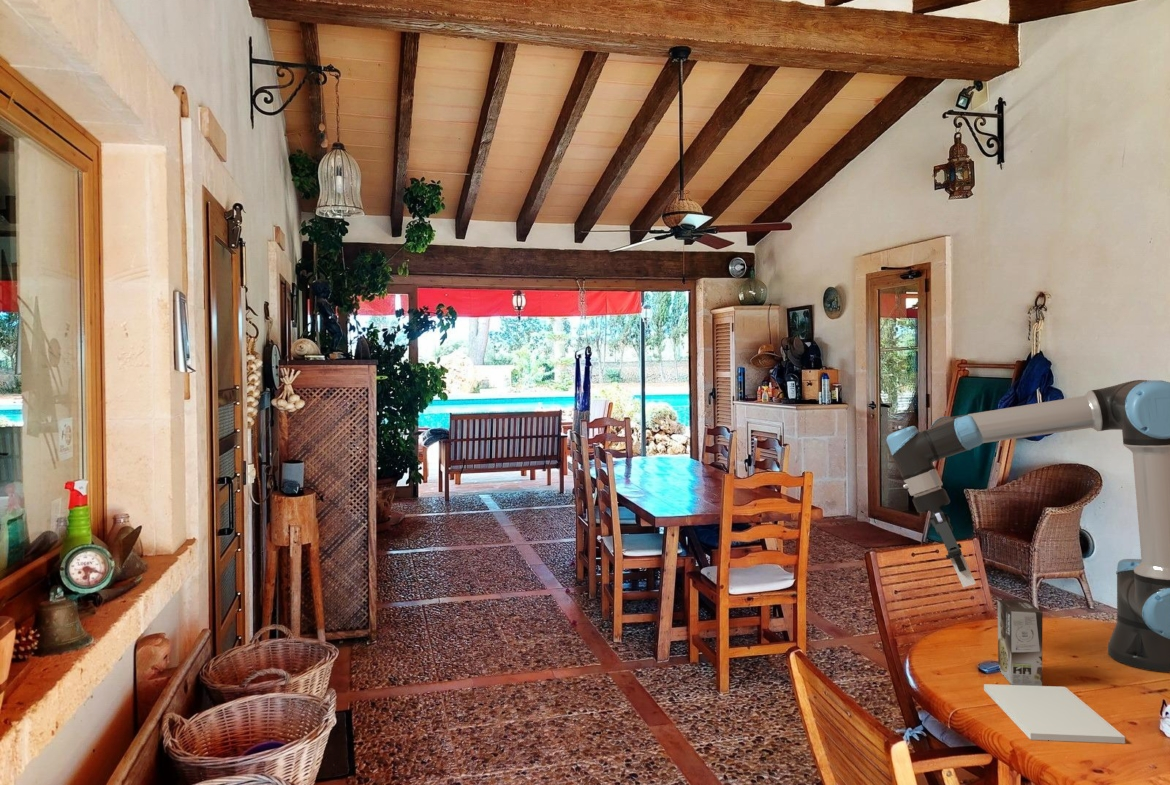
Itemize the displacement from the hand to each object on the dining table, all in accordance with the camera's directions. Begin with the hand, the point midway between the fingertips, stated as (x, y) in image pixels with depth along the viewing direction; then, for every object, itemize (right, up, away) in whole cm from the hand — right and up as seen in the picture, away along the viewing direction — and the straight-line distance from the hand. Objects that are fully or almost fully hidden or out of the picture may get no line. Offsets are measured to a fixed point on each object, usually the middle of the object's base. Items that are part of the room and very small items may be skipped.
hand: (967, 581), depth 173 cm
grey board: (+5, -20, -23) cm, 31 cm away
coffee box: (+9, -20, -5) cm, 23 cm away
